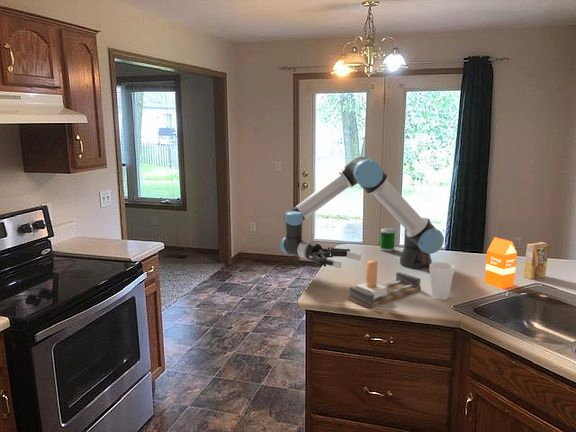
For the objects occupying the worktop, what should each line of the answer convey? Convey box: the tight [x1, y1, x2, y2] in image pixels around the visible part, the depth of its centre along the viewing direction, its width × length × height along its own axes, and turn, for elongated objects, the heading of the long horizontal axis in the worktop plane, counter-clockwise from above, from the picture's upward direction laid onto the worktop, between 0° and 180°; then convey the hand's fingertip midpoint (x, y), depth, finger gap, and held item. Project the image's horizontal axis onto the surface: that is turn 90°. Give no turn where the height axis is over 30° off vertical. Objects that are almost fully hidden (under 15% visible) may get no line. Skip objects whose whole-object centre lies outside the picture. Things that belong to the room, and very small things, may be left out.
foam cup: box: [428, 261, 455, 301], centre depth 184 cm, size 10×9×13 cm
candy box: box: [523, 241, 550, 280], centre depth 205 cm, size 9×4×15 cm, turn 110°
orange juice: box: [484, 236, 518, 290], centre depth 196 cm, size 8×9×20 cm
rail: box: [348, 271, 422, 309], centre depth 187 cm, size 31×11×5 cm, turn 127°
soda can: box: [379, 227, 396, 253], centre depth 250 cm, size 8×8×12 cm
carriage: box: [355, 259, 387, 299], centre depth 181 cm, size 8×9×13 cm
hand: (350, 261), depth 186 cm, fingers open, 13 cm apart
